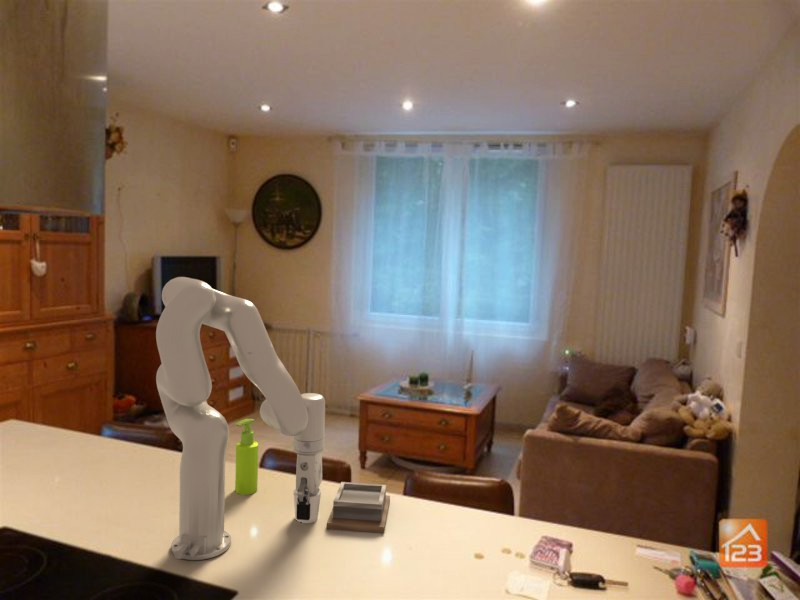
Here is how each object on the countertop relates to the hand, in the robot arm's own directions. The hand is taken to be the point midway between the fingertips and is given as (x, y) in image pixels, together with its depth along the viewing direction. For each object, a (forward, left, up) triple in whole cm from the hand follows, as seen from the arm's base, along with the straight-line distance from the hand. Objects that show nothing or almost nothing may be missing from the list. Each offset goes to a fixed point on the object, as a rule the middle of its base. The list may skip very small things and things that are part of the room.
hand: (307, 510), depth 147 cm
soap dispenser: (+13, +20, -2) cm, 24 cm away
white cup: (0, 0, -2) cm, 2 cm away
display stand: (+4, -13, -2) cm, 14 cm away
